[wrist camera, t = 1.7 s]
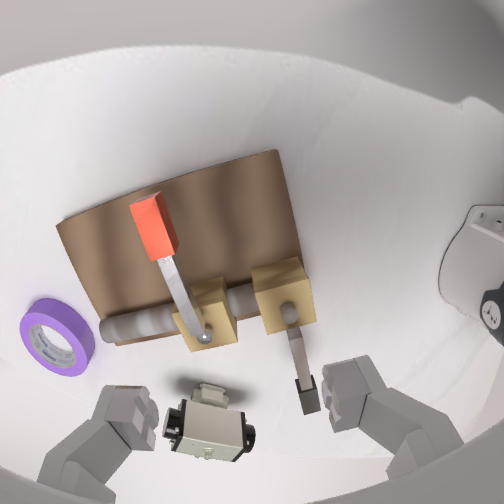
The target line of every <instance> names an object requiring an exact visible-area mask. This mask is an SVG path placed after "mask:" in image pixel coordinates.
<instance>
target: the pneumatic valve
mask: <svg viewBox="0 0 504 504" xmlns="http://www.w3.org/2000/svg"><path fill="white" fill-rule="evenodd" d="M199 387H200V389H197V388H194V389H193V391H192V394H191V400H190V401H189V400H185V399H182V401H181V403H180V404H179V405H178V410H177V409H173V408H168V410H167V413H166V417H165V421H164V426H163V434H162V435H163V437H164V438H168V439H172V440H170V442H169V443H170V444H172V446H171V451H175V452H179V453H184V454H189V455H194V456H195V457H196V458H199V457H204V459H206V460H208V459H216V460H223V461H230V462H235V461H236V460H237V459H238V458H239V457H240V456H241V455H242V454H243V453H249V452H250V451H251V450H252V448H253V446H254V443H255V436H256V433H255V428H254V426H253V425H249V424H246V423H245V422H247V419H245V413H244V412H239V411H234V410H228V409H227V407H228V403H229V397H228V396H227V395H223V393H226V391H225V389H223V388H221V387H217V386H213V385H209V384H205V383H202V384H200V386H199Z"/></svg>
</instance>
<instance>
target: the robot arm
mask: <svg viewBox="0 0 504 504" xmlns="http://www.w3.org/2000/svg"><path fill="white" fill-rule="evenodd" d="M439 288H440V293H441V295H442V297H443V299H444V300H445V301H446V302H447V303H449V304H451V305H453V306H455V307H457V308H458V310H459V311H460V312H461V313H462V314H463V315H469V316H470V317H471V318H473V319H474V320H475V321H477V322H478V323H479V324H481V325H482V326H484V327H485V328H486V329H488V330H489V332H490V334H491V335H492V336H493V337H494V338H495V339H496V340H497V341H498V342H499V343H500V344H502V345H503V346H504V206H473V207H472V208H471V210H470V212H469V214H468V217H467V219H466V222H465V224H464V226H463V227H462V229H461V230H460V232H459V233H458V234H457V235H456V237H455V238H454V240H453V241H452V243H451V244H450V246H449V248H448V250H447V252H446V254H445V257H444V260H443V263H442V266H441V270H440V277H439ZM322 374H323V377H324V380H323V381H322V396H323V401H324V404H325V407H326V408H327V409H329V410H330V413H329V419H330V422H331V425H332V428H333V431H334V433H336V432H340V431H344V430H349V429H352V428H356V427H359V429H360V430H362V431H363V432H364V433H366V434H367V435H368V436H370V437H371V438H372V439H374V440H375V441H376V442H378V443H379V444H380V445H382V446H383V447H384V448H386V449H387V450H389V451H390V452H391V453H393V454H394V455H395V456H394V458H393V460H392V461H391V463H390V465H389V466H388V468H387V470H386V472H387V475H388V477H389V480H387V481H385V482H382V483H379V484H376V485H373V486H371V487H367V488H364V489H361V490H358V491H355V492H351V493H348V494H344V495H340V496H336V497H332V498H328V499H325V500H320V501H315V502H310V503H306V504H504V419H502V420H501V421H499V422H498V423H497V424H495V425H494V426H492V427H491V428H489V429H488V430H486V431H485V432H483V433H482V434H480V435H479V436H477V437H475V438H474V439H472V440H470V441H469V442H467V443H466V444H464V442H463V441H462V439H461V437H460V436H459V434H458V432H457V430H456V429H455V427H454V426H453V424H452V422H451V421H450V419H449V417H448V416H447V415H446V414H444V413H442V412H440V411H437V410H435V409H433V408H431V407H429V406H427V405H425V404H423V403H421V402H419V401H417V400H415V399H413V398H411V397H409V396H407V395H405V394H403V393H401V392H399V391H397V390H395V389H393V388H392V387H391V388H388V389H387V387H386V385H385V383H384V382H383V380H382V378H381V376H380V374H379V373H378V371H377V369H376V367H375V366H374V364H373V362H372V360H371V359H370V357H369V356H368V355H364V356H361V357H357V358H353V359H348V360H344V361H340V362H336V363H332V364H327V365H324V366H323V369H322ZM149 394H150V393H149V391H148V389H147V388H146V387H145V386H114V385H106V386H104V387H103V389H102V391H101V394H100V397H99V399H98V402H97V405H96V407H95V410H94V413H93V416H92V419H91V420H87V421H85V422H84V423H83V424H82V425H81V426H79V427H78V428H77V429H76V430H75V431H73V432H72V433H71V434H70V435H69V436H67V437H66V438H65V439H64V440H62V441H61V442H60V443H59V444H58V445H57V446H55V447H54V448H53V449H52V450H50V451H49V452H48V453H47V454H46V456H45V459H44V461H43V464H42V467H41V470H40V473H39V476H38V479H37V482H36V481H33V480H30V479H28V478H26V477H23V476H21V475H18V474H16V473H14V472H12V471H9V470H7V469H5V468H3V467H1V466H0V504H115V498H116V494H115V493H114V492H113V491H112V490H111V489H109V488H108V487H107V486H105V485H104V484H105V483H106V482H107V481H108V480H109V479H110V477H111V476H112V475H113V473H114V472H115V471H116V470H117V469H118V468H119V467H120V465H121V464H122V463H123V462H124V460H125V459H126V458H127V457H128V455H129V454H130V453H131V452H132V450H140V451H141V450H142V451H154V446H155V440H156V435H155V433H154V432H153V430H154V429H155V428H156V427H157V426H158V421H159V414H158V409H157V405H156V404H155V402H154V401H153V400H152V399H150V398H149Z"/></svg>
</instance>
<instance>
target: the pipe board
mask: <svg viewBox="0 0 504 504" xmlns="http://www.w3.org/2000/svg"><path fill="white" fill-rule="evenodd" d="M160 191H161V192H162V195H163V198H164V201H165V203H166V206H167V209H168V212H169V215H170V218H171V221H172V224H173V226H174V229H175V232H176V235H177V238H178V240H179V243H180V244H179V246H178V249H177V251H176V252H177V254H178V257H179V260H180V262H181V265H182V267H183V270H184V272H185V275H186V278H187V280H188V283H189V285H190V287H191V290H192V292H193V295H194V297H195V300H196V302H197V304H198V307H199V309H200V312H201V314H202V316H203V319H204V321H205V325H208V326H210V327H211V328H212V331H213V332H212V341H211V342H210V343H209V344H201V343H199V342H198V340H197V336H192V337H191V335H190V333H189V331H188V329H187V327H186V325H185V323H184V321H183V319H182V316H181V314H180V312H179V310H178V308H177V305H176V303H175V301H174V299H173V297H172V294H171V292H170V290H169V287H168V285H167V283H166V281H165V278H164V276H163V273H162V271H161V269H160V266H159V264H158V261H157V260H154V261H150V259H149V256H148V254H147V251H146V249H145V246H144V244H143V241H142V239H141V236H140V234H139V231H138V229H137V226H136V223H135V221H134V218H133V215H132V213H131V210H130V207H129V206H130V205H131V204H132V203H134V202H135V201H136V200H138V199H140V198H143V197H146V196H148V195H151V194H154V193H157V192H160ZM56 228H57V230H58V233H59V235H60V238H61V240H62V243H63V245H64V247H65V250H66V252H67V254H68V256H69V259H70V261H71V263H72V265H73V267H74V269H75V271H76V273H77V276H78V278H79V280H80V282H81V284H82V286H83V288H84V290H85V292H86V293H87V295H88V297H89V299H90V301H91V303H92V305H93V307H94V308H95V310H96V312H97V314H98V316H99V317H100V319H101V321H100V324H99V331H100V335H101V337H102V339H103V340H104V341H105V342H106V343H115V344H116V346H121V345H126V344H132V343H137V342H143V341H148V340H153V339H158V338H163V337H168V336H173V335H178V334H182V336H183V338H184V340H185V342H186V344H187V346H188V348H189V350H190V352H195V351H200V350H205V349H209V348H214V347H219V346H223V345H228V344H232V343H236V342H238V337H237V321H239V320H243V319H247V318H251V317H255V316H259V315H261V316H262V319H263V322H264V326H265V329H266V332H267V335H269V334H273V333H277V332H280V331H284V330H287V334H288V338H289V342H290V346H291V350H292V354H293V358H294V362H295V367H296V371H297V375H298V379H295V382H296V386H297V390H298V394H299V398H300V401H301V405H302V409H303V413H304V415H307V414H310V413H314V412H317V411H321V408H320V402H319V397H318V391H317V387H316V384H315V381H314V378H313V375H310V371H309V366H308V361H307V356H306V351H305V346H304V341H303V337H302V334H301V331H300V328H299V326H302V325H306V324H309V323H313V322H316V315H315V309H314V304H313V298H312V292H311V287H310V282H309V278H308V276H307V274H306V272H305V269H304V264H303V259H302V254H301V250H300V245H299V240H298V235H297V231H296V226H295V221H294V217H293V212H292V208H291V203H290V199H289V195H288V190H287V186H286V182H285V178H284V173H283V169H282V165H281V161H280V157H279V153H278V150H270V151H266V152H262V153H258V154H254V155H250V156H247V157H243V158H239V159H235V160H232V161H228V162H225V163H221V164H218V165H214V166H211V167H207V168H204V169H201V170H197V171H194V172H191V173H188V174H185V175H182V176H178V177H175V178H172V179H169V180H166V181H163V182H160V183H158V184H155V185H152V186H149V187H146V188H143V189H140V190H138V191H135V192H132V193H130V194H127V195H124V196H122V197H119V198H116V199H114V200H111V201H109V202H106V203H104V204H101V205H99V206H96V207H94V208H91V209H89V210H87V211H84V212H82V213H79V214H77V215H75V216H73V217H70V218H68V219H66V220H64V221H62V222H60V223H59V224H57V225H56Z"/></svg>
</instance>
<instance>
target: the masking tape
mask: <svg viewBox="0 0 504 504" xmlns="http://www.w3.org/2000/svg"><path fill="white" fill-rule="evenodd" d="M41 325H44V326H47V327H50V328H52V329H54V330H55V331H57V332H58V333H59V334H61V335H62V336H63V337H64V338H65V339H66V340H67V341H68V343H69V344H70V346H71V347H72V349H73V352H67V351H63V350H61V349H59V348H57V347H56V346H54V345H53V344H52V343H51V342H50V341H49V340H48V339H47V338H46V336H45V334H44V333H43V331H42V328H41ZM20 334H21V337H22V340H23V342H24V344H25V346H26V348H27V349H28V351H29V352H30V354H31V355H32V356H33V357H34V358H35V359H36V360H37V361H38V362H39V363H40V364H41V365H43V366H44V367H46V368H47V369H49V370H50V371H52V372H54V373H57V374H60V375H63V376H69V377H73V376H78V375H80V374H82V373H83V372H84V371H85V370H86V368H87V366H88V363H89V361H90V359H91V357H92V355H93V353H94V349H95V341H94V337H93V334H92V332H91V330H90V328H89V326H88V325H87V323H86V322H85V320H84V319H83V318H82V317H81V316H80V315H79V314H78V313H77V312H76V311H75V310H74V309H72V308H71V307H70V306H68V305H66V304H65V303H63V302H60V301H58V300H55V299H48V298H46V299H41V300H38V301H37V302H36V303H35V304H34V305H33V306H32V307H31V308H30V309H29V311H28V312H27V313H26V314H25V315H24V316H23V318H22V320H21V322H20Z"/></svg>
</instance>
